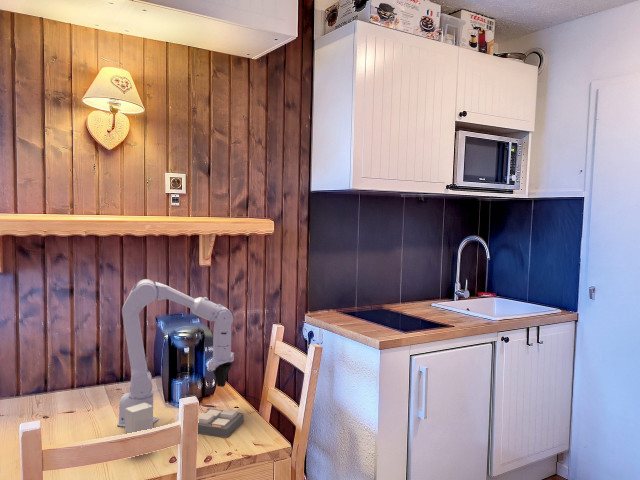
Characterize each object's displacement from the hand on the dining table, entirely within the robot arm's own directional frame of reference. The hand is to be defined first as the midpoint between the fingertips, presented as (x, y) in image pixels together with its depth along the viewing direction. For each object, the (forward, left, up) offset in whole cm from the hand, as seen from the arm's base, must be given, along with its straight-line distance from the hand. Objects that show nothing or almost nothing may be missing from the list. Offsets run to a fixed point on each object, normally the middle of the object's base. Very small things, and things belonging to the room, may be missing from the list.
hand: (221, 385), depth 154 cm
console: (+3, -9, -9) cm, 13 cm away
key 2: (0, -6, -8) cm, 10 cm away
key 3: (+6, -11, -8) cm, 15 cm away
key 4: (+6, -6, -8) cm, 11 cm away
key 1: (0, -11, -8) cm, 14 cm away
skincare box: (-10, -29, -10) cm, 32 cm away
